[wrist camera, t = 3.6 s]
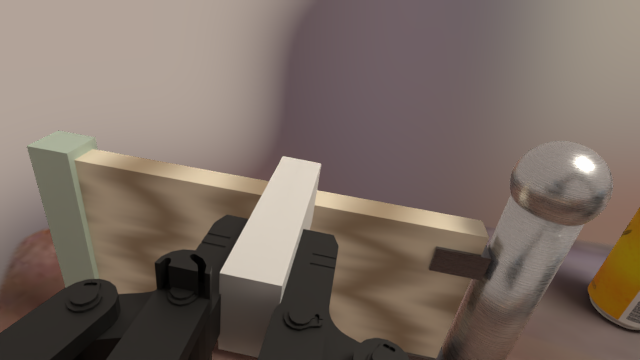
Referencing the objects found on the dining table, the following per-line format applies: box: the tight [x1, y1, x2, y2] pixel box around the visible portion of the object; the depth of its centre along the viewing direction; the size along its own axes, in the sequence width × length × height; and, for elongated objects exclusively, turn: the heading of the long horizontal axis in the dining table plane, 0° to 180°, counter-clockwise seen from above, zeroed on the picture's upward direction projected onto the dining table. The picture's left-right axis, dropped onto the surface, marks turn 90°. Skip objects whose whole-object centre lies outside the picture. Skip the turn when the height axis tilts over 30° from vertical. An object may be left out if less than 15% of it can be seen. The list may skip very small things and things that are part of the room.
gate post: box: [442, 141, 613, 360], centre depth 23 cm, size 5×5×21 cm
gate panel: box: [27, 131, 492, 360], centre depth 25 cm, size 26×2×14 cm, turn 82°
